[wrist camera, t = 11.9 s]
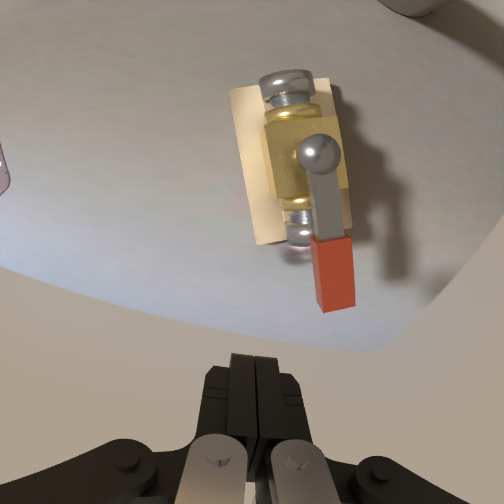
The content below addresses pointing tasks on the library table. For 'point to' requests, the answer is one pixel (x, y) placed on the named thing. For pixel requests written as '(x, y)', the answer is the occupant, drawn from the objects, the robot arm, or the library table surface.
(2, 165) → the mobile phone
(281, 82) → the valve body
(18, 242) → the library table surface
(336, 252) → the valve lever
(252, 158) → the pipe board
